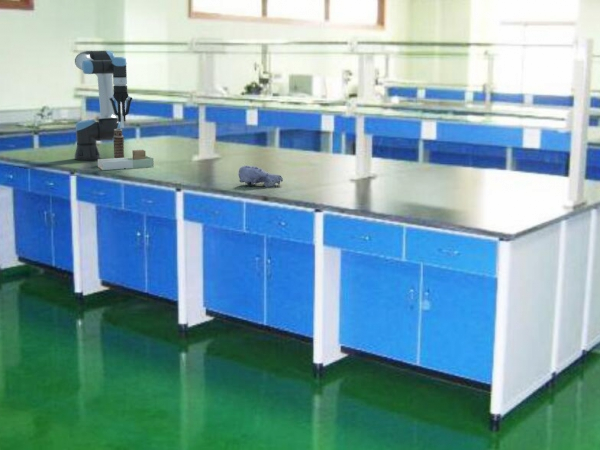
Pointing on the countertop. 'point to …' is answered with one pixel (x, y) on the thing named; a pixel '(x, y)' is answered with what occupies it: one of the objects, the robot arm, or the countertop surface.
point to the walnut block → (139, 154)
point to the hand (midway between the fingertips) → (122, 127)
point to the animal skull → (258, 176)
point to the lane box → (125, 163)
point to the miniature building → (118, 143)
